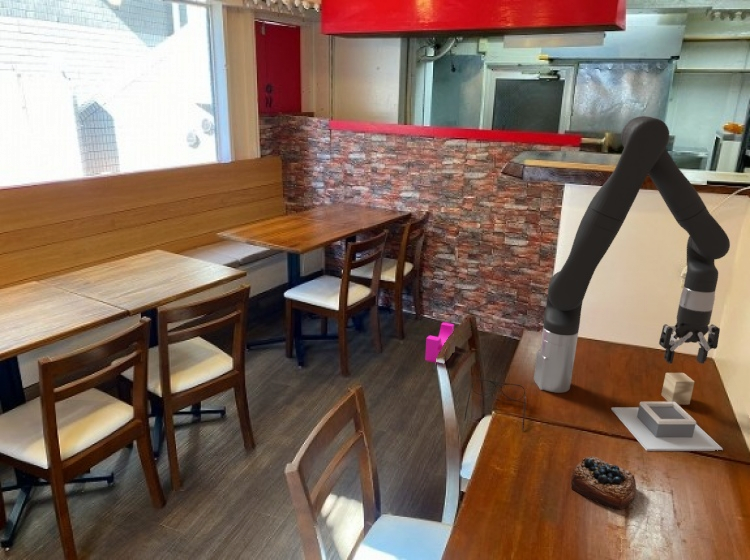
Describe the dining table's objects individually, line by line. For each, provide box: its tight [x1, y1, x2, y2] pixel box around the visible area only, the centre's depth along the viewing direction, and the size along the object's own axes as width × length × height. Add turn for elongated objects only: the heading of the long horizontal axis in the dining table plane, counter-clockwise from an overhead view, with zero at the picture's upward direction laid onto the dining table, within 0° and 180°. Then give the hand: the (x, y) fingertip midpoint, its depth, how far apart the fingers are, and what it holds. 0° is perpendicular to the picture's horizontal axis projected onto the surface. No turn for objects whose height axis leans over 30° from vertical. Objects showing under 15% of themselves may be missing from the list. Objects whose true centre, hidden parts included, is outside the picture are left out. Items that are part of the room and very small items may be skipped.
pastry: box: [570, 455, 637, 511], centre depth 112 cm, size 11×12×6 cm
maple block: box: [660, 372, 695, 406], centre depth 147 cm, size 5×5×7 cm
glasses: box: [464, 378, 526, 432], centre depth 140 cm, size 14×15×5 cm
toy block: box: [424, 321, 455, 364], centre depth 172 cm, size 15×6×8 cm, turn 153°
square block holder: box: [611, 401, 724, 452], centre depth 134 cm, size 18×18×5 cm
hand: (684, 362), depth 145 cm, fingers open, 8 cm apart
